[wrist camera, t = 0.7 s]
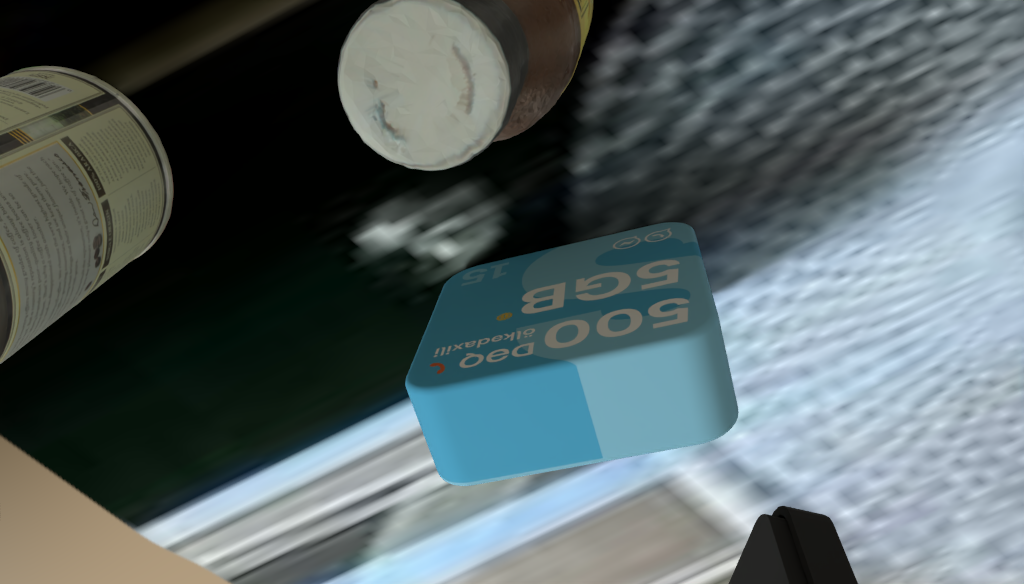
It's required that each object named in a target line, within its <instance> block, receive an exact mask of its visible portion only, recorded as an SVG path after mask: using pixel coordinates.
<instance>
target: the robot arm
mask: <svg viewBox="0 0 1024 584" xmlns="http://www.w3.org/2000/svg"><path fill="white" fill-rule="evenodd" d="M729 584H858V583H857V580H856V578H855V576H854V573H853V571H852V568H851V566H850V563H849V561H848V558H847V556H846V554H845V551H844V549H843V546H842V544H841V541H840V539H839V537H838V534H837V532H836V529H835V527H834V524H833V522H832V521H831V519H830V518H829V517H827V516H826V515H822V514H818V513H813V512H809V511H804V510H800V509H795V508H791V507H786V506H780V507H778V508H777V509H776V510H775V511H774V513H773V514H772V516H771V515H767V514H762V515H761V516H760V517H759V518H758V519H757V521H756V523H755V525H754V527H753V530H752V532H751V534H750V537H749V539H748V541H747V543H746V546H745V548H744V550H743V552H742V555H741V557H740V559H739V562H738V564H737V566H736V568H735V571H734V573H733V575H732V577H731V580H730V582H729Z"/></svg>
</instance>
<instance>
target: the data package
mask: <svg viewBox="0 0 1024 584" xmlns="http://www.w3.org/2000/svg"><path fill="white" fill-rule="evenodd" d="M406 389H407V391H408V394H409V397H410V399H411V402H412V404H413V407H414V410H415V412H416V415H417V418H418V420H419V423H420V426H421V428H422V431H423V434H424V436H425V439H426V442H427V444H428V447H429V449H430V452H431V455H432V457H433V460H434V463H435V465H436V468H437V471H438V473H439V475H440V477H441V478H442V479H443V480H445V481H446V482H448V483H450V484H453V485H458V486H470V485H477V484H482V483H488V482H493V481H499V480H504V479H510V478H515V477H521V476H527V475H532V474H538V473H543V472H549V471H554V470H560V469H565V468H571V467H576V466H582V465H587V464H593V463H599V462H604V461H610V460H615V459H621V458H626V457H632V456H637V455H643V454H648V453H654V452H659V451H665V450H670V449H676V448H682V447H687V446H693V445H698V444H703V443H706V442H710V441H712V440H715V439H717V438H719V437H721V436H722V435H724V434H725V433H726V432H728V431H729V430H730V429H731V428H732V427H733V425H734V424H735V422H736V420H737V418H738V406H737V401H736V396H735V392H734V387H733V382H732V378H731V373H730V368H729V364H728V359H727V354H726V350H725V345H724V340H723V336H722V331H721V326H720V321H719V317H718V313H717V309H716V306H715V302H714V299H713V295H712V291H711V288H710V284H709V281H708V277H707V273H706V270H705V266H704V263H703V259H702V256H701V252H700V248H699V245H698V241H697V238H696V234H695V231H694V229H693V228H692V227H691V226H689V225H687V224H684V223H679V222H667V223H660V224H655V225H650V226H646V227H642V228H637V229H633V230H629V231H624V232H620V233H616V234H612V235H607V236H603V237H599V238H594V239H590V240H586V241H581V242H577V243H573V244H568V245H564V246H560V247H556V248H551V249H547V250H543V251H538V252H534V253H530V254H525V255H521V256H517V257H513V258H508V259H504V260H500V261H495V262H491V263H487V264H482V265H478V266H475V267H471V268H469V269H466V270H464V271H462V272H460V273H458V274H456V275H454V276H453V277H451V278H450V279H449V280H448V281H447V282H446V283H445V285H444V287H443V289H442V292H441V294H440V297H439V299H438V301H437V304H436V306H435V309H434V311H433V314H432V316H431V319H430V321H429V323H428V326H427V328H426V331H425V333H424V336H423V338H422V341H421V343H420V345H419V348H418V350H417V353H416V355H415V358H414V360H413V363H412V365H411V367H410V370H409V372H408V375H407V377H406Z"/></svg>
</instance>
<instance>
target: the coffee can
mask: <svg viewBox="0 0 1024 584" xmlns="http://www.w3.org/2000/svg"><path fill="white" fill-rule="evenodd" d="M172 201H173V179H172V172H171V167H170V164H169V160H168V157H167V154H166V151H165V149H164V147H163V145H162V143H161V140H160V138H159V136H158V134H157V133H156V131H155V130H154V129H153V127H152V126H151V124H150V123H149V121H148V120H147V118H146V117H145V116H144V115H143V114H142V113H141V111H140V110H139V109H138V108H137V106H136V105H135V104H133V103H132V102H131V101H130V100H129V99H128V98H127V97H126V96H125V95H123V94H122V93H121V92H120V91H118V90H117V89H115V88H114V87H112V86H111V85H109V84H108V83H106V82H104V81H102V80H100V79H99V78H97V77H95V76H93V75H89V74H87V73H84V72H81V71H77V70H74V69H69V68H64V67H57V66H37V67H29V68H25V69H21V70H18V71H14V72H12V73H10V74H8V75H6V76H4V77H1V78H0V364H1V363H2V362H3V361H5V360H6V359H7V358H9V357H10V356H11V355H12V354H14V353H15V352H16V351H18V350H19V349H20V348H21V347H23V346H24V345H25V344H26V343H28V342H29V341H30V340H32V339H33V338H34V337H35V336H37V335H38V334H39V333H41V332H42V331H43V330H44V329H46V328H47V327H48V326H49V325H51V324H52V323H53V322H54V321H56V320H57V319H58V318H60V317H61V316H62V315H63V314H65V313H66V312H67V311H68V310H70V309H71V308H72V307H74V306H75V305H76V304H78V303H79V302H80V301H81V300H82V299H84V298H85V297H86V296H87V295H89V294H90V293H91V292H92V291H94V290H95V289H96V288H97V287H99V286H100V285H101V284H102V283H104V282H105V281H106V280H108V279H109V278H110V277H111V276H113V275H114V274H115V273H116V272H118V271H119V270H120V269H121V268H123V267H124V266H125V265H127V264H128V263H129V262H130V261H132V260H134V259H136V258H137V257H139V256H140V255H142V254H143V253H145V252H146V251H147V250H148V249H149V248H150V247H151V246H152V245H153V244H154V243H155V242H156V241H157V239H158V238H159V237H160V235H161V234H162V232H163V230H164V229H165V226H166V224H167V222H168V220H169V218H170V214H171V209H172Z"/></svg>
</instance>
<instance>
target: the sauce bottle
mask: <svg viewBox="0 0 1024 584" xmlns="http://www.w3.org/2000/svg"><path fill="white" fill-rule="evenodd" d="M592 12H593V0H379V1H377V2H375V3H373V4H372V5H371V6H370V7H369V8H368V9H366V10H365V11H364V12H363V13H362V14H361V16H360V17H359V18H358V20H357V21H356V22H355V24H354V25H353V26H352V28H351V29H350V31H349V33H348V35H347V37H346V39H345V41H344V43H343V46H342V48H341V52H340V58H339V64H338V88H339V94H340V99H341V101H342V104H343V107H344V110H345V113H346V115H347V116H348V118H349V120H350V123H351V125H352V126H353V128H354V129H355V131H356V132H357V133H358V134H359V135H360V137H361V138H362V140H363V141H364V142H365V143H366V144H367V145H369V146H370V147H371V148H372V149H373V150H374V151H376V152H377V153H378V154H380V155H381V156H383V157H385V158H386V159H388V160H390V161H392V162H394V163H397V164H400V165H403V166H405V167H407V168H409V169H420V170H425V171H435V170H445V169H448V168H451V167H455V166H458V165H462V164H464V163H466V162H468V161H470V160H471V159H472V158H474V157H475V156H477V155H479V154H480V153H481V152H483V151H484V150H485V149H486V148H487V147H488V146H489V145H490V144H491V143H492V142H494V141H498V140H504V139H507V138H510V137H512V136H515V135H518V134H520V133H521V132H524V131H525V130H527V129H528V128H530V127H531V126H532V125H534V124H535V123H536V122H537V121H538V120H539V119H540V118H542V117H543V115H545V114H546V113H547V112H548V111H549V110H550V109H551V107H552V106H554V105H555V103H556V101H557V100H558V98H559V97H560V95H561V94H562V93H563V91H564V90H565V88H566V87H567V85H568V83H569V82H570V80H571V78H572V76H573V74H574V71H575V69H576V66H577V63H578V60H579V57H580V54H581V51H582V48H583V45H584V42H585V39H586V37H587V34H588V31H589V27H590V23H591V19H592Z"/></svg>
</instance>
